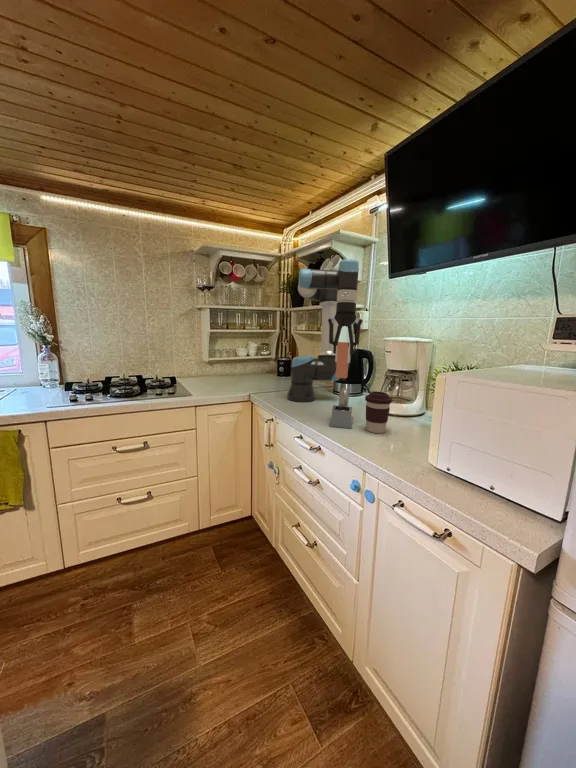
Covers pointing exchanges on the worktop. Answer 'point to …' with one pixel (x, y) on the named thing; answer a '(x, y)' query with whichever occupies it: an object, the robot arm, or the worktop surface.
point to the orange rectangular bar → (342, 360)
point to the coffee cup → (377, 411)
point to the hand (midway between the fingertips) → (342, 362)
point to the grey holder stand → (342, 412)
